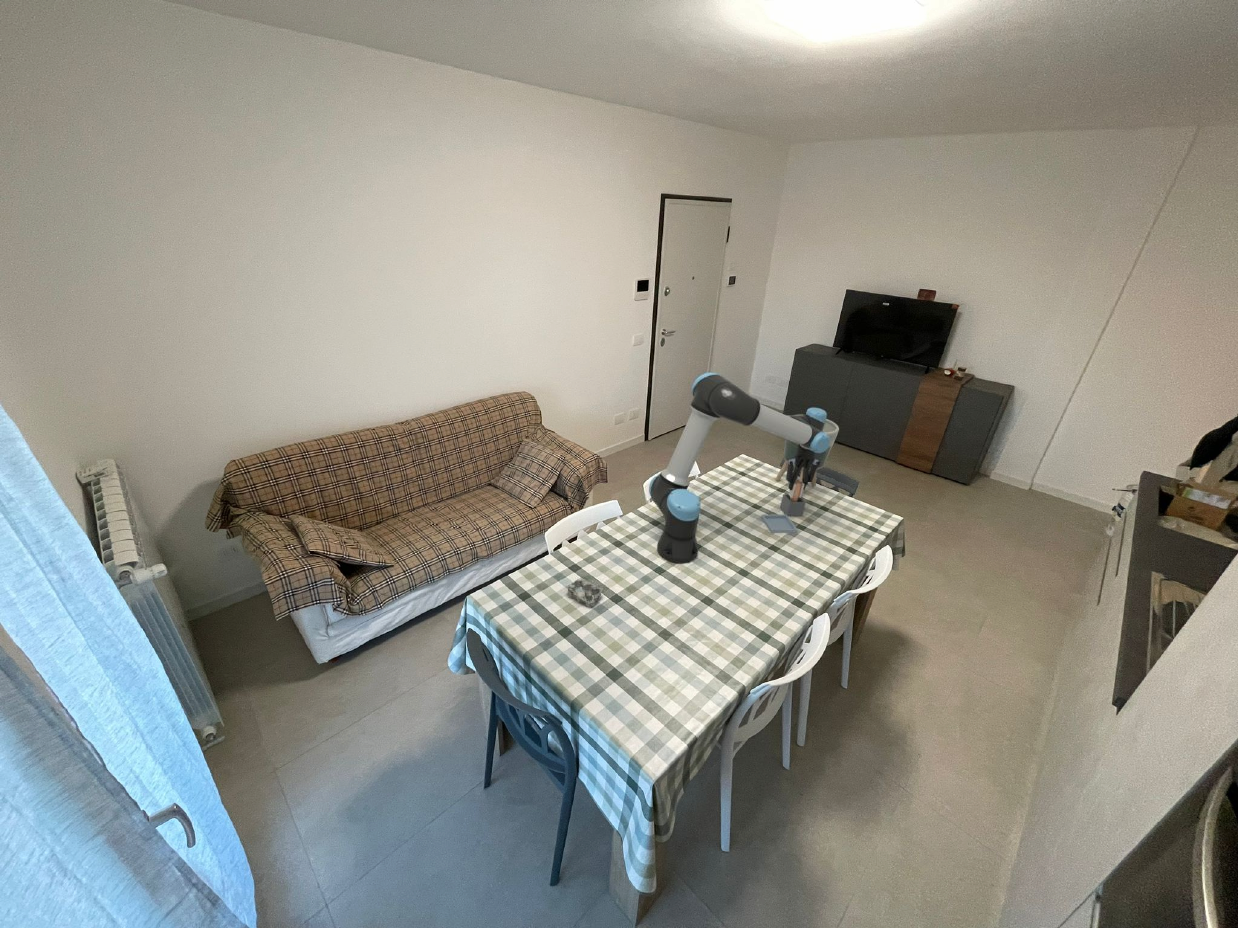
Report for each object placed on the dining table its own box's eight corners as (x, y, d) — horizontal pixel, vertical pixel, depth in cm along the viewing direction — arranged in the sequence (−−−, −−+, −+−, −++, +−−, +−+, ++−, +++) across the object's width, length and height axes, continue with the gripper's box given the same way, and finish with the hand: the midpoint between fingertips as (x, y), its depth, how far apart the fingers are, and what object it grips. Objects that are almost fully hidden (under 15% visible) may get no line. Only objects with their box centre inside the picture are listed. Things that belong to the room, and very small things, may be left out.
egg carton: (564, 596, 160) (564, 586, 158) (578, 583, 165) (578, 574, 163) (590, 610, 154) (590, 600, 153) (604, 597, 160) (604, 587, 158)
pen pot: (786, 517, 209) (789, 502, 206) (779, 508, 216) (783, 494, 212) (801, 517, 210) (805, 502, 207) (794, 508, 216) (798, 494, 213)
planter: (766, 476, 242) (780, 413, 226) (807, 476, 244) (824, 414, 229) (783, 500, 223) (800, 432, 207) (828, 499, 225) (848, 433, 210)
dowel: (788, 512, 211) (796, 484, 204) (785, 508, 213) (793, 480, 207) (795, 512, 211) (803, 484, 205) (792, 508, 214) (800, 480, 207)
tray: (770, 534, 198) (771, 530, 197) (760, 518, 207) (761, 514, 207) (796, 533, 199) (797, 529, 198) (785, 518, 209) (786, 514, 208)
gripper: (793, 449, 194) (780, 500, 205) (831, 450, 196) (816, 500, 207) (785, 441, 200) (773, 491, 211) (822, 442, 203) (808, 491, 213)
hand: (794, 496), depth 209 cm, fingers closed on dowel, 3 cm apart
